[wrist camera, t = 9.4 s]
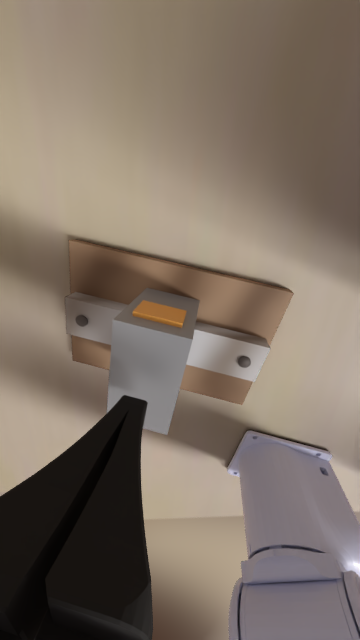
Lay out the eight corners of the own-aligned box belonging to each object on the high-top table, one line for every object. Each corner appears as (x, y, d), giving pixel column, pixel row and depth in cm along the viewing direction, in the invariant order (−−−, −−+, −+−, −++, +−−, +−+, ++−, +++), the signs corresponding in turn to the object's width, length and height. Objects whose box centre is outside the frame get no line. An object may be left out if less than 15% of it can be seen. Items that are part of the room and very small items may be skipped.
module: (200, 297, 17) (194, 334, 11) (180, 375, 21) (167, 435, 15) (147, 284, 17) (113, 314, 11) (136, 363, 21) (106, 418, 15)
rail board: (289, 289, 17) (302, 300, 14) (240, 397, 22) (244, 419, 19) (76, 239, 17) (54, 241, 15) (78, 355, 23) (62, 370, 20)
